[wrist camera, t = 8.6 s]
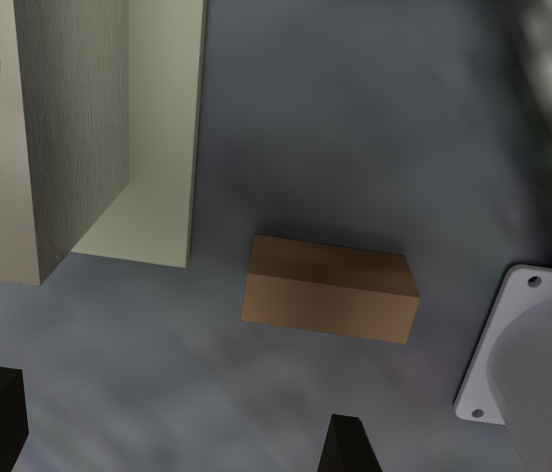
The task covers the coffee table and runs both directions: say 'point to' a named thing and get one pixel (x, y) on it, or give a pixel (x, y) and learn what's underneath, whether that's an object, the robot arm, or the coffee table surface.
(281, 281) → the cardboard parcel
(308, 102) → the coffee table surface
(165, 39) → the sage board
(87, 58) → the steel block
